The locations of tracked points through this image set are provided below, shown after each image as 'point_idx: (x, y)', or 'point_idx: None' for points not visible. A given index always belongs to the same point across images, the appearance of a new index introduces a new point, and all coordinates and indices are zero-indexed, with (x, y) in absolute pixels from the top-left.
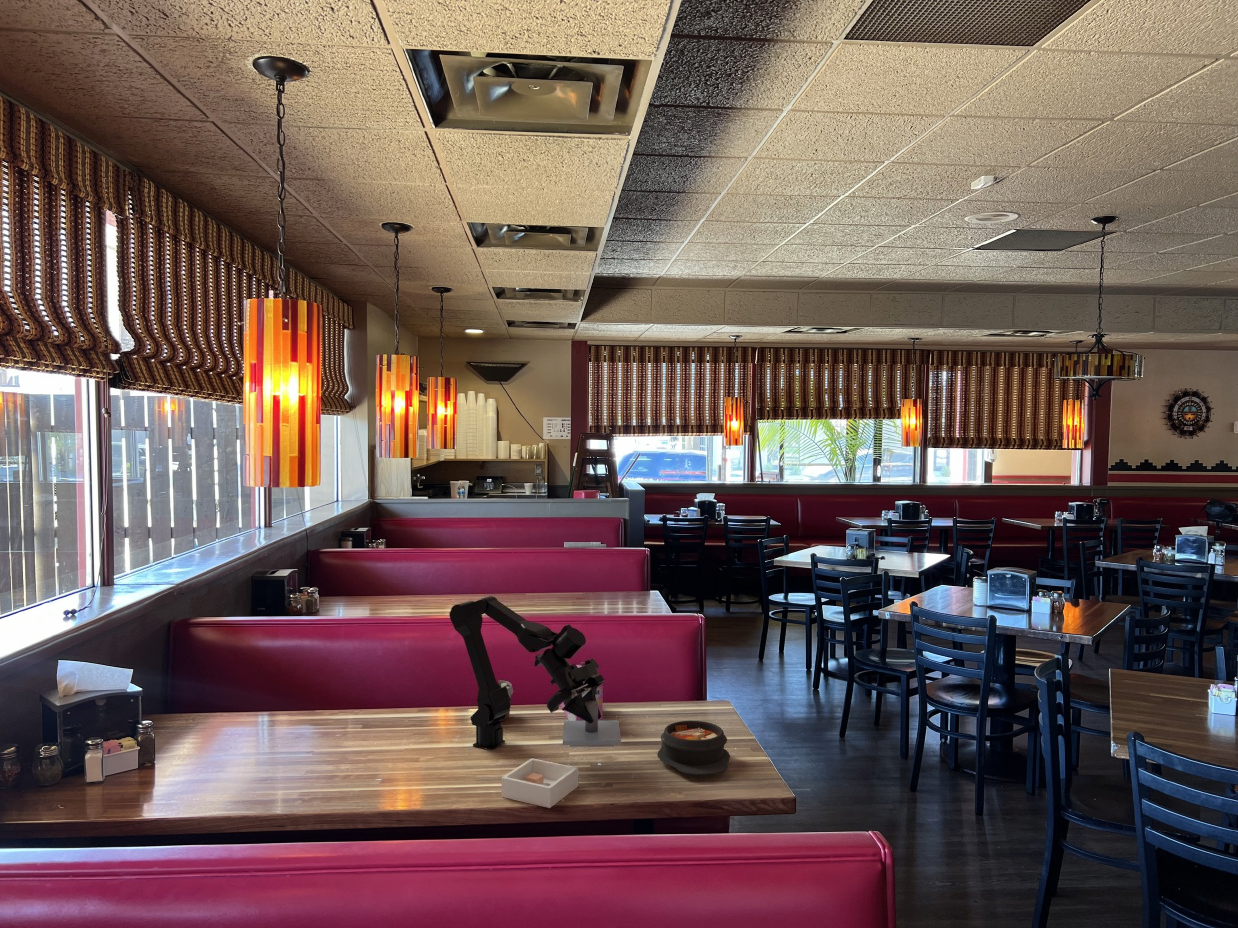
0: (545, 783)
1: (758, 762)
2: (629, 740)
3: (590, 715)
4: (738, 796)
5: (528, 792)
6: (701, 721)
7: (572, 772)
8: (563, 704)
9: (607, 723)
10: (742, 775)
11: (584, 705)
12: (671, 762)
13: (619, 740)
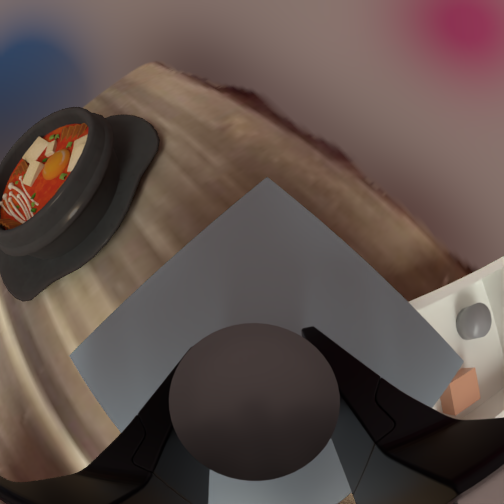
0: (473, 331)
1: None
2: (44, 405)
3: (319, 348)
4: (178, 79)
5: None
6: None
7: (426, 294)
8: None
9: (126, 377)
10: None
11: (364, 414)
12: (123, 194)
13: (271, 181)
